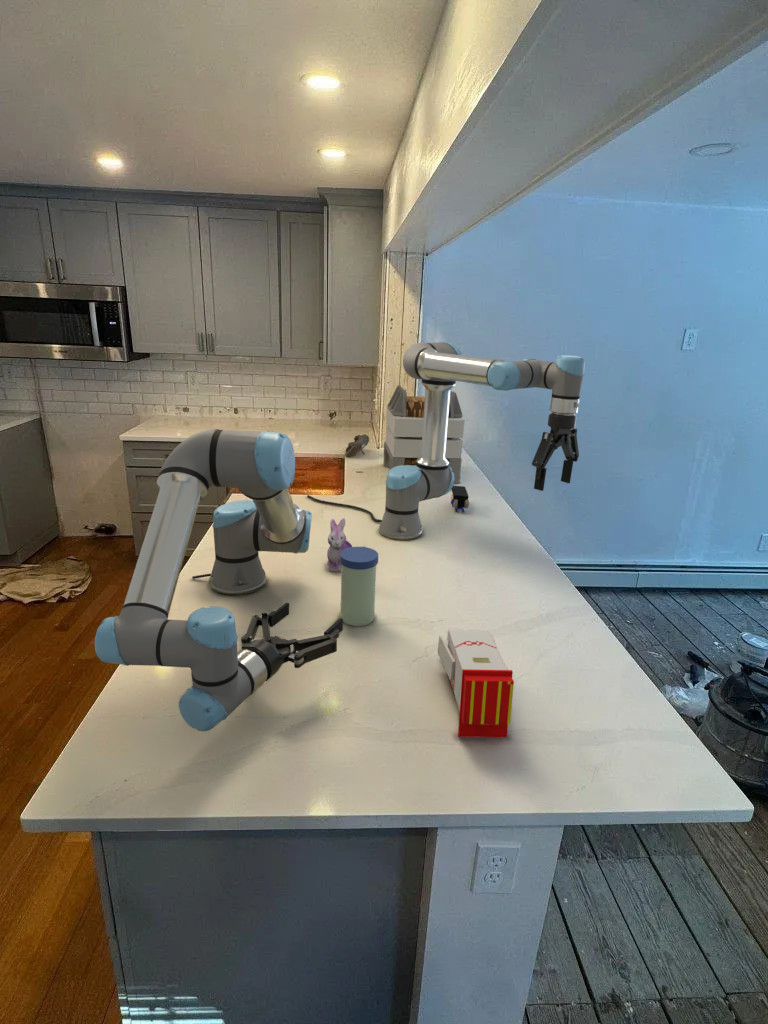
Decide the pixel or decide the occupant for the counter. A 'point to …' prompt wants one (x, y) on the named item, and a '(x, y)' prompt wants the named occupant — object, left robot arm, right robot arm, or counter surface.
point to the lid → (359, 558)
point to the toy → (478, 682)
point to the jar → (357, 595)
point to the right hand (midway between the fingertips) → (552, 485)
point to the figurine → (336, 545)
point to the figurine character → (459, 498)
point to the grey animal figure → (357, 445)
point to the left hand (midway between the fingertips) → (314, 615)
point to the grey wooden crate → (419, 431)
